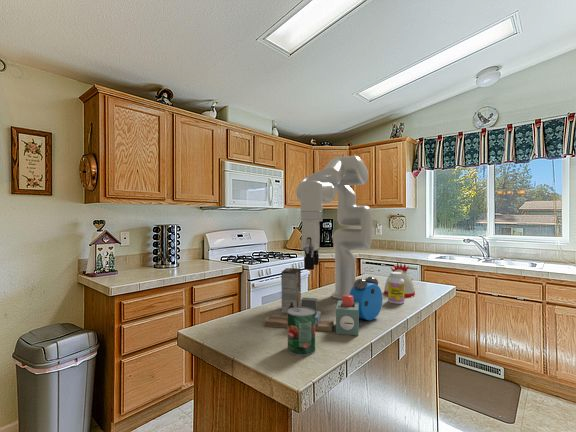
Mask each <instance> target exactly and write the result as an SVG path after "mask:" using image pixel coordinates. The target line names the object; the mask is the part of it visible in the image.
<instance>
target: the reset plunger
mask: <svg viewBox="0 0 576 432" xmlns="http://www.w3.org/2000/svg"><path fill="white" fill-rule="evenodd" d="M341 301H342V307H353V296H352V295H342V300H341Z"/></svg>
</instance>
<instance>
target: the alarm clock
mask: <svg viewBox="0 0 576 432" xmlns="http://www.w3.org/2000/svg"><path fill="white" fill-rule="evenodd" d="M349 295H352V296H353V301H357V302H359V319H363V320H366V321H374V320H375V319H376V318H377V317H378V316H379V314H380V312H381V309H382V306H383V299H384V298H383V292H382V290H381V287H380V286H379V281H378V279H377V278H376V277H374V276H368V277H366V278H365V279H364V278H356V281H355V282H354V286H353V287H352V289H351V291H350V294H349Z"/></svg>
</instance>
